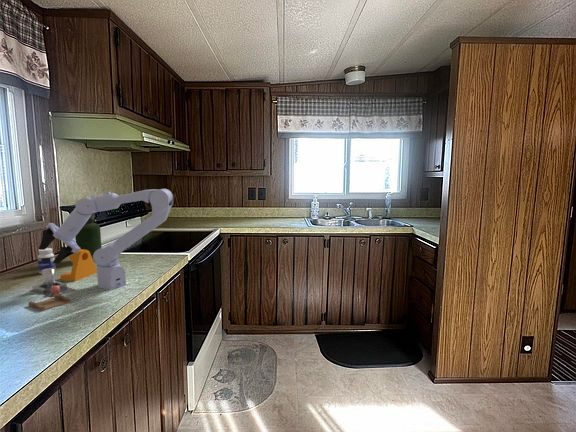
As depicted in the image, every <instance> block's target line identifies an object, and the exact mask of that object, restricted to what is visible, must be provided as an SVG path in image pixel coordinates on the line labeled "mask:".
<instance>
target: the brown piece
mask: <svg viewBox="0 0 576 432" xmlns="http://www.w3.org/2000/svg"><path fill="white" fill-rule="evenodd" d="M53 296H54V297H52V298H51V297H50V298H49V299H48V298H47V299H45V300H42V301H38V302H35V301H33V300H32V301H28V302H27V303H28V304H27V305H28V307H31V308H32V309H34V310H37V311H40V312H45V311H48V310H51V309H54V308H58V307H60V306H64V305H67V304H69V303H71V298H70V297H67V296H64V295H63V294H62V295H59V294H55V295H53Z"/></svg>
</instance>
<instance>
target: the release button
mask: <svg viewBox="0 0 576 432" xmlns="http://www.w3.org/2000/svg"><path fill="white" fill-rule="evenodd" d="M55 294H61V292H60V286H59V285H56V286H52V287H51V294H50V295H52V296H54V295H55Z"/></svg>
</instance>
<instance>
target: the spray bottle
mask: <svg viewBox="0 0 576 432" xmlns="http://www.w3.org/2000/svg"><path fill="white" fill-rule="evenodd" d="M95 220H96V213H92V215H91V217H90V218H89V219H88V221H87V222H86V224H85V225H84V226H83V227H82V229H81V230H80V231H79V233H78V234H77V235H76V236H75V238H74V240H75V242H76V243H77V245H78V246H79V247H80V248H81V249H83V250H88V251H89V252H90V254H91V256H92V259H93V254H94V252H95V251H96V250H98V249H101V248H102V237H101V227H100V225H99V224H98V223H96V222H94V221H95ZM93 261H94V260H93Z"/></svg>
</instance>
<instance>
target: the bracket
mask: <svg viewBox="0 0 576 432" xmlns="http://www.w3.org/2000/svg"><path fill="white" fill-rule="evenodd" d="M68 257H69V261H70V262H71V263H72V266H71V271H69V272H66V273H63V274H60V276H59V277H60V281H66V282H67V281H69V282H70V281H71V282H77V281H80V280H82V279H85V278H87V277H90V276H92V275H95V274H97V265H96V263H95V262H94V261H93V259H92V256H91V254H90V252H89V251H88V250H83V249H80V250H79V251H78V252H77V253H74V254H72V255H70V256H68Z"/></svg>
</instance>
